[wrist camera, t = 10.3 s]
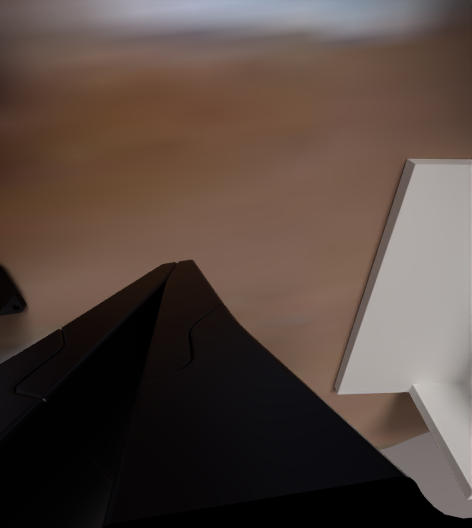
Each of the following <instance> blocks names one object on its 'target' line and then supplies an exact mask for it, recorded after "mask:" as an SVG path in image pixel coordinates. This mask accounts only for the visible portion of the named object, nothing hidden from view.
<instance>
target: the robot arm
mask: <svg viewBox="0 0 472 528" xmlns="http://www.w3.org/2000/svg"><path fill="white" fill-rule="evenodd" d="M16 305H17V306H16ZM25 307H26V304H25V302H24V301H23V299H22V298H21V296H20V295H19V293H18V292H17V290H16V289H15V288H14V286H13V285H12V283H11V282H10V280H9V279H8V278H7V276H6V275H5V273H4V272H3V270H2V269H1V268H0V316H1V315H8V314H14V313H20V312H22V311H23V310H24V309H25ZM0 528H472V518H464V519H463V518H458V517H454V516H450V515H445V514H443V513H442V512H440V511H439V510H438V509H436V508H435V507H433V505H432V504H431V503H430V502H429V501H428V500H427V499H426V498H425V497H424V495H423V494H422V492H421V491H420V489H419V487H418V486H417V484H416V482H415V481H414V480H413V479H411V478H410V477H409V476H407V475H406V474H405V473H404V472H403V471H402V470H401V469H399V468H398V467H397V466H396V465H395V464H394V463H393V462H392V461H391V460H389V459H388V458H387V457H386V456H385V455H384V454H383V453H382V452H381V451H379V450H378V449H377V448H376V447H375V446H374V445H373V444H372V443H371V442H369V441H368V440H367V439H366V438H365V437H364V436H363V435H362V434H361V433H359V432H358V431H357V430H356V429H355V428H354V427H353V426H352V425H351V424H349V423H348V422H347V421H346V420H345V419H344V418H343V417H342V416H341V415H339V414H338V413H337V412H336V411H335V410H334V409H333V408H332V407H331V406H329V405H328V404H327V403H326V402H325V401H324V400H323V399H322V398H321V397H319V396H318V395H317V394H316V393H315V392H314V391H313V390H312V389H311V388H309V387H308V386H307V385H306V384H305V383H304V382H303V381H302V380H301V379H299V378H298V377H297V376H296V375H295V374H294V373H293V372H292V371H291V370H289V369H288V368H287V367H286V366H285V365H284V364H283V363H282V362H281V361H279V360H278V359H277V358H276V357H275V356H274V355H273V354H272V353H271V352H269V351H268V350H267V349H266V348H265V347H264V346H263V345H262V344H261V343H259V342H258V341H257V340H256V339H255V338H254V337H253V336H252V335H251V334H250V333H249V332H248V331H246V330H245V329H244V328H243V327H242V326H241V325H240V324H239V322H238V321H237V320H236V319H235V318H234V316H233V315H232V314H231V313H230V311H229V310H228V308H227V307H226V306H225V305H224V303H223V302H222V301H221V299H220V298H219V296H218V295H217V293H216V292H215V291H214V289H213V288H212V286H211V285H210V283H209V282H208V281H207V279H206V278H205V276H204V275H203V273H202V272H201V271H200V269H199V268H198V266H197V265H196V264H195V262H194V261H193V260H186V261H180V262H178V263H176V262H172V263H166V264H162V265H160V266H159V267H157V268H155V269H154V270H152V271H151V272H149V273H147V274H146V275H144V276H143V277H141V278H140V279H138V280H136V281H135V282H133V283H132V284H130V285H128V286H127V287H125V288H124V289H122V290H121V291H119V292H117V293H116V294H114V295H113V296H111V297H109V298H108V299H106V300H105V301H103V302H101V303H100V304H98V305H97V306H95V307H94V308H92V309H90V310H89V311H87V312H86V313H84V314H82V315H81V316H79V317H78V318H76V319H75V320H73V321H71V322H70V323H68V324H67V325H65V326H63V327H62V330H61V329H58V330H56V331H54V332H53V333H51V334H50V335H48V336H46V337H45V338H43V339H42V340H40V341H38V342H37V343H35V344H33V345H32V346H30V347H28V348H27V349H25V350H23V351H22V352H20V353H19V354H17V355H15V356H13V357H12V358H10V359H8V360H6V361H5V362H3V363H1V364H0Z"/></svg>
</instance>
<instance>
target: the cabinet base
mask: <svg viewBox="0 0 472 528" xmlns="http://www.w3.org/2000/svg"><path fill="white" fill-rule="evenodd" d="M334 386H335V388H336V391H337V394H364V393H393V392H409V394H410V395H411V397H412V399H413V401H414V403H415V405H416V407H417V408H418V410H419V412H420V414H421V416H422V418H423V419H424V421H425V423H426V425H427V427H428V429H429V431H430V432H431V434H432V436H433V438H434V440H435V442H436V444H437V445H438V447H439V449H440V451H441V453H442V455H443V456H444V458H445V460H446V462H447V464H448V466H449V468H450V469H451V471H452V473H453V475H454V477H455V479H456V480H457V482H458V484H459V486H460V488H461V490H462V492H463V493H464V495H465V497H466V499H467V500H470V499H472V159H407V161H406V164H405V167H404V170H403V173H402V177H401V180H400V183H399V186H398V189H397V192H396V195H395V198H394V201H393V205H392V208H391V211H390V214H389V217H388V220H387V223H386V226H385V229H384V233H383V236H382V239H381V242H380V245H379V248H378V251H377V254H376V257H375V261H374V264H373V267H372V270H371V273H370V276H369V279H368V282H367V285H366V289H365V292H364V295H363V298H362V301H361V304H360V307H359V310H358V313H357V317H356V320H355V323H354V326H353V329H352V332H351V335H350V338H349V341H348V344H347V348H346V351H345V354H344V357H343V360H342V363H341V366H340V369H339V372H338V376H337V379H336V382H335V385H334Z"/></svg>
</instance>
